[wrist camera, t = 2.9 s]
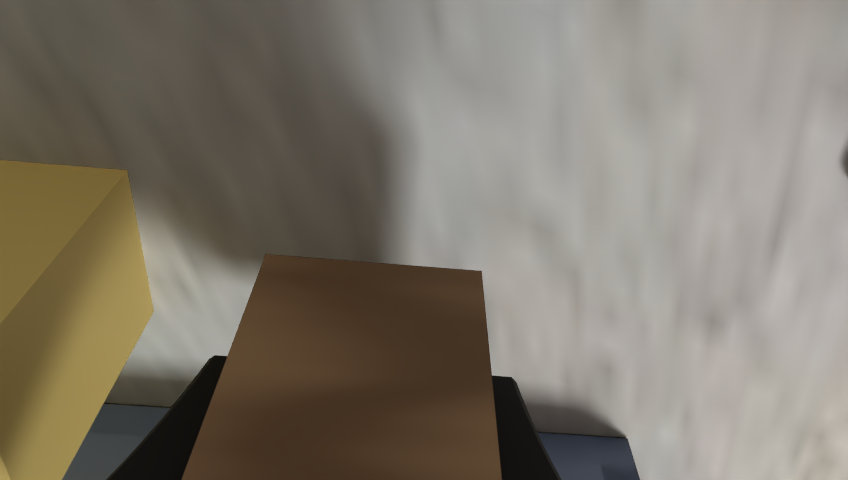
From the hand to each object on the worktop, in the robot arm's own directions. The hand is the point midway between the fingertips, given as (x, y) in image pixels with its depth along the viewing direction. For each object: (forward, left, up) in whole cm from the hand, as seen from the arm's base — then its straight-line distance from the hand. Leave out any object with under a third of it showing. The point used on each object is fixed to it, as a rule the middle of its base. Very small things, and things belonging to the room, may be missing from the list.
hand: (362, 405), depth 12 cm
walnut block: (0, 0, -2) cm, 2 cm away
